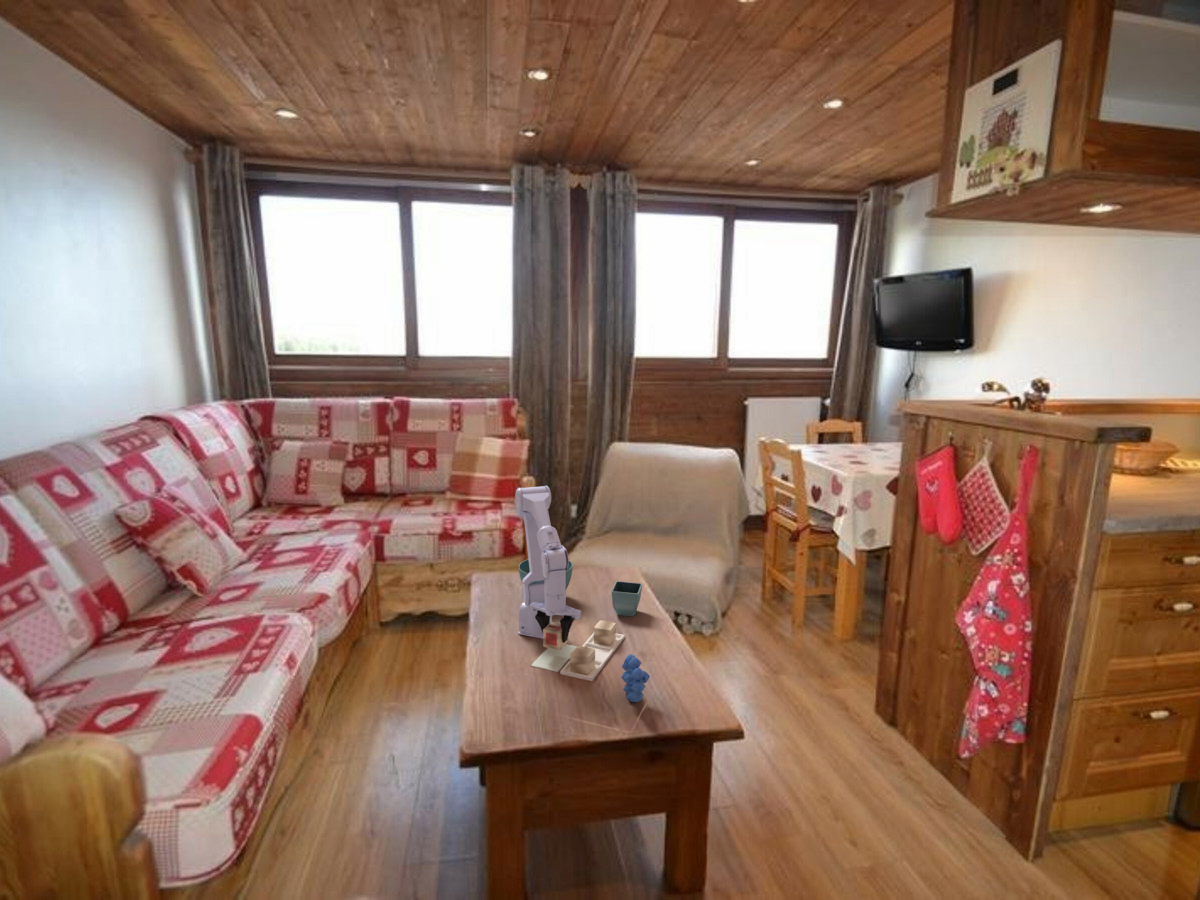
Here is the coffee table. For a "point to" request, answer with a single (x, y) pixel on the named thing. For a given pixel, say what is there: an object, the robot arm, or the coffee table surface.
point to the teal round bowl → (525, 570)
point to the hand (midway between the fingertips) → (555, 639)
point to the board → (554, 658)
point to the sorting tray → (600, 657)
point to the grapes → (634, 678)
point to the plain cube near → (582, 660)
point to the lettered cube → (553, 636)
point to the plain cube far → (605, 633)
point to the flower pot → (626, 597)
